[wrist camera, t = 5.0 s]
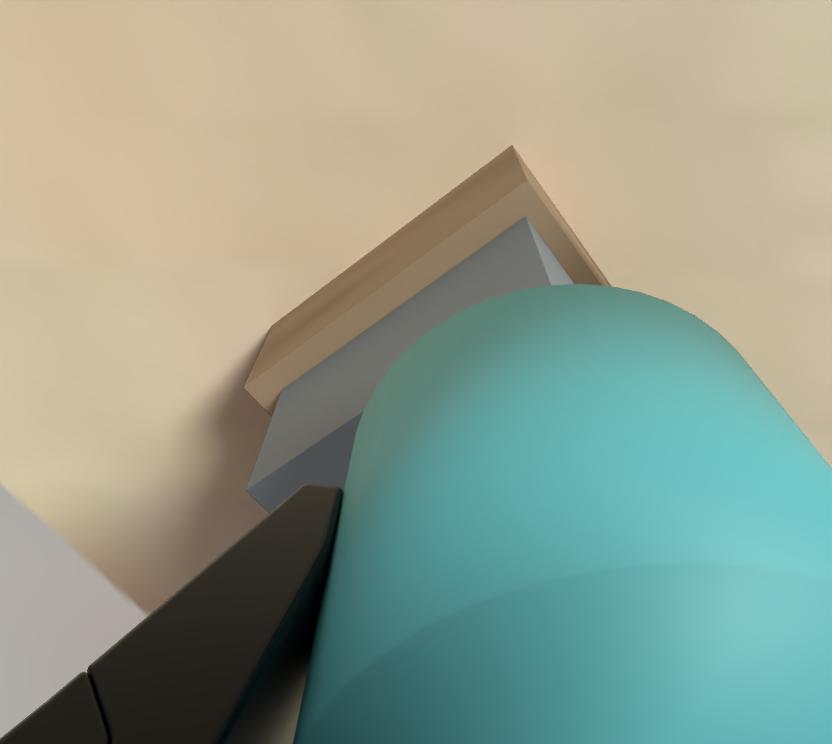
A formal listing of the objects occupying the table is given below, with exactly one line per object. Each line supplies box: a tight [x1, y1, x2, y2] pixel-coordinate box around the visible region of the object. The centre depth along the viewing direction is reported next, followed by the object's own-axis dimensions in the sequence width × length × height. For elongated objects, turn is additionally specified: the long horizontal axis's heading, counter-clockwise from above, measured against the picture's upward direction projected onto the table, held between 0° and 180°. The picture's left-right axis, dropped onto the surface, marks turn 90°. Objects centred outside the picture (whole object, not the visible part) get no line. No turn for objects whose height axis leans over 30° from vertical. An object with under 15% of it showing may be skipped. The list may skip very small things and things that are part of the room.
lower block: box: [244, 145, 611, 416], centre depth 18 cm, size 7×7×4 cm
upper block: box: [246, 216, 574, 513], centre depth 15 cm, size 6×6×4 cm
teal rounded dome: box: [293, 284, 832, 744], centre depth 7 cm, size 5×5×4 cm
